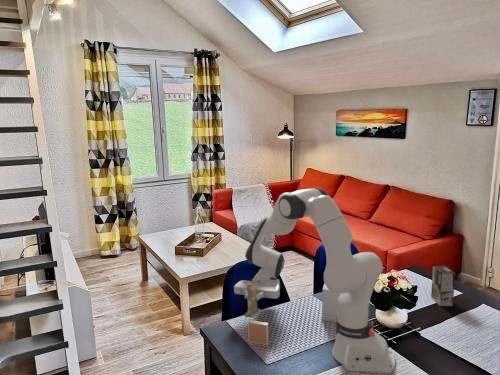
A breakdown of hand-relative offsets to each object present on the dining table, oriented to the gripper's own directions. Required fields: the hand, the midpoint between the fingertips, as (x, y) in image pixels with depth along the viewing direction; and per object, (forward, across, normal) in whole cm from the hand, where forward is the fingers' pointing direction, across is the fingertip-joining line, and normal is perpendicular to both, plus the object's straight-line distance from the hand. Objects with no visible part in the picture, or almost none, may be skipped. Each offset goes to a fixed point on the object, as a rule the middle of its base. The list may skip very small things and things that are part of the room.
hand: (251, 297), depth 159 cm
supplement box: (-19, +32, +15) cm, 40 cm away
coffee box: (-47, +78, +15) cm, 93 cm away
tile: (+9, +6, +14) cm, 18 cm away
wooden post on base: (-1, 0, +8) cm, 8 cm away
